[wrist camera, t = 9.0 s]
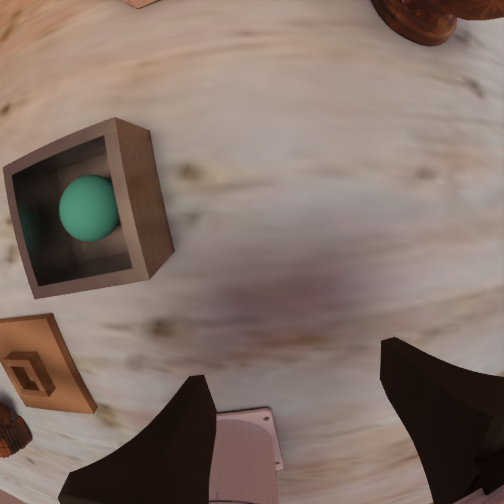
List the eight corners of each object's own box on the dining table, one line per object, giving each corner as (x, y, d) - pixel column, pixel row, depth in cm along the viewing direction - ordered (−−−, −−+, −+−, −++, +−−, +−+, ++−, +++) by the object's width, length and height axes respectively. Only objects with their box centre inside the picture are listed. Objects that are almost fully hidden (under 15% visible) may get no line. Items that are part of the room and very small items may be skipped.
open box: (174, 251, 20) (149, 279, 14) (76, 271, 20) (34, 299, 14) (149, 130, 18) (115, 116, 12) (51, 165, 18) (2, 167, 12)
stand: (97, 407, 23) (88, 424, 21) (30, 401, 23) (19, 414, 21) (52, 313, 21) (36, 326, 18) (-11, 320, 21) (-26, 331, 18)
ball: (136, 228, 19) (115, 240, 15) (85, 240, 19) (56, 254, 15) (124, 167, 18) (99, 165, 14) (73, 183, 18) (41, 185, 14)
